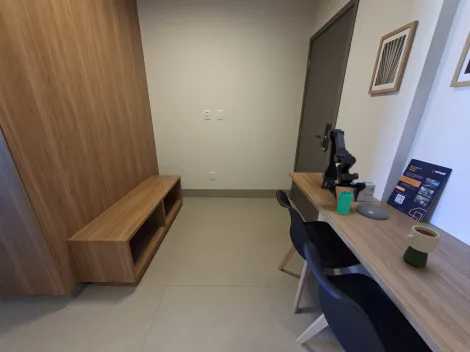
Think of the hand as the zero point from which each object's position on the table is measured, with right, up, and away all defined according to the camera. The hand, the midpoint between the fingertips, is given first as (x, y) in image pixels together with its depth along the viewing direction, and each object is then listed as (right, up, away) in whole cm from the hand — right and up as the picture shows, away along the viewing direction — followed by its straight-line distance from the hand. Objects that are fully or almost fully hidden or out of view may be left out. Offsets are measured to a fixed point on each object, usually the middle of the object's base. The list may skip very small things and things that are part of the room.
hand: (345, 200), depth 102 cm
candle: (0, -6, +3) cm, 7 cm away
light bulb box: (+18, -2, +18) cm, 26 cm away
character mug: (+7, -18, -31) cm, 36 cm away
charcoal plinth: (+15, -7, +3) cm, 17 cm away
